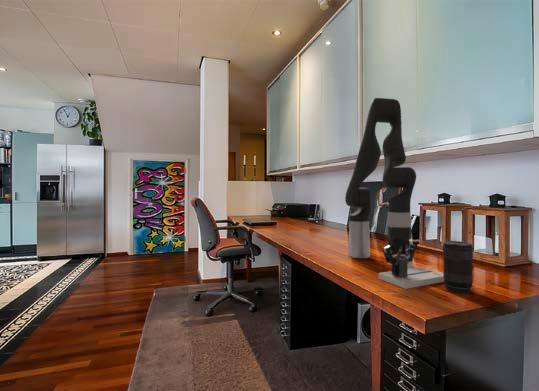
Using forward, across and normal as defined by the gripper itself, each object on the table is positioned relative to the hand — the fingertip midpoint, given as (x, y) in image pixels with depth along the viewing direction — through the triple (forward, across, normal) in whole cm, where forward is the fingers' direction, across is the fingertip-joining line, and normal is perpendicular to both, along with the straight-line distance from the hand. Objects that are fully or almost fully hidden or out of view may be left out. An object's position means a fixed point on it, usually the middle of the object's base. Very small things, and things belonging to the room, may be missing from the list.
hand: (399, 274), depth 101 cm
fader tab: (0, 0, 0) cm, 0 cm away
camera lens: (+3, -11, +13) cm, 17 cm away
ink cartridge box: (+3, -17, -14) cm, 22 cm away
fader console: (+3, -7, 0) cm, 7 cm away
